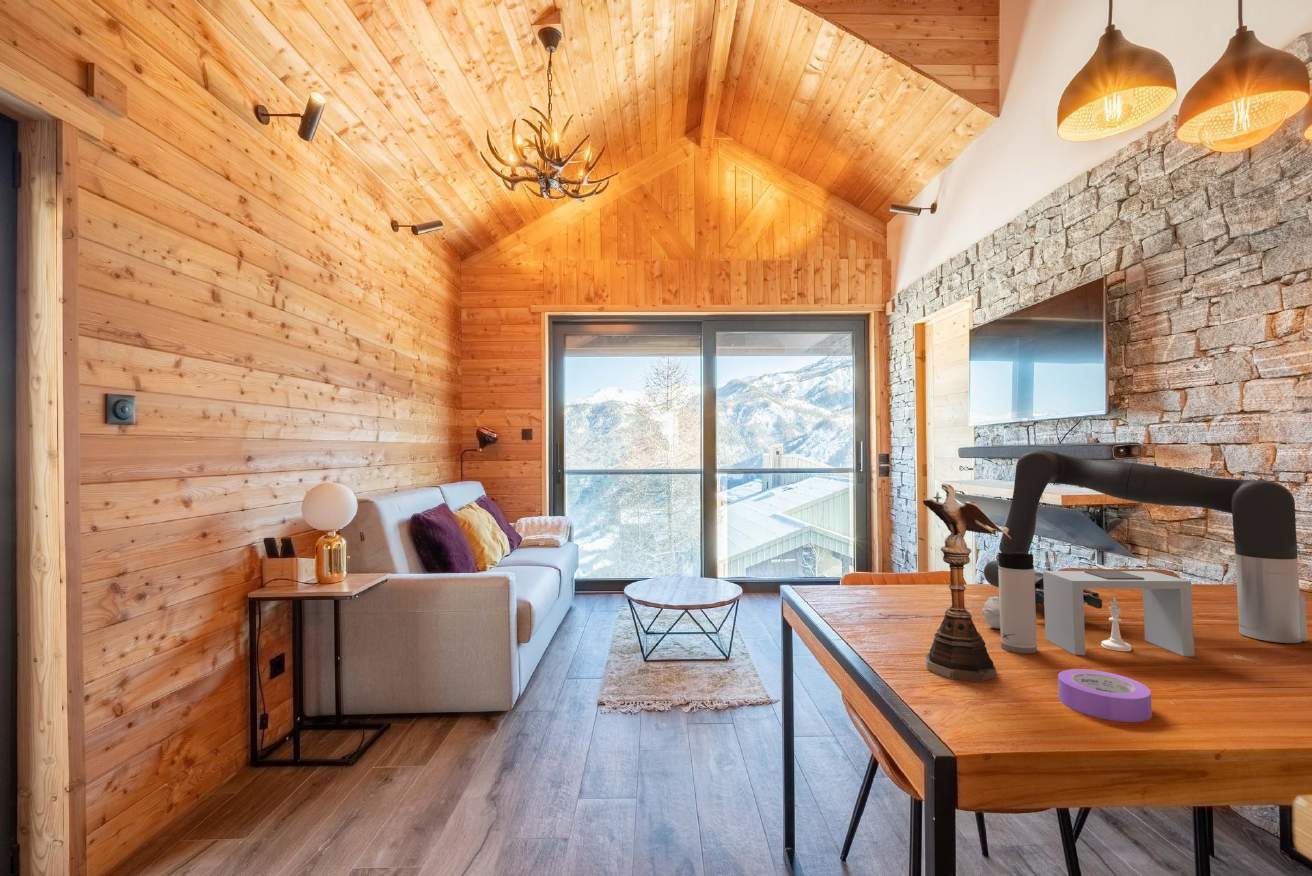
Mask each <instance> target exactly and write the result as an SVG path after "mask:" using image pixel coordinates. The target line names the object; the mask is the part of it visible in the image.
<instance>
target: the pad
mask: <svg viewBox="0 0 1312 876" xmlns="http://www.w3.org/2000/svg"><path fill="white" fill-rule="evenodd" d="M1083 571H1084V573H1088V574H1091V575H1094V576H1097V577H1101V578H1104V579H1139V580H1144V578H1142V577H1139V576H1135V575H1132V574H1128V573H1124V572H1121V570H1083Z"/></svg>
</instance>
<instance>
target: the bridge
mask: <svg viewBox="0 0 1312 876" xmlns="http://www.w3.org/2000/svg"><path fill="white" fill-rule="evenodd" d="M1084 571H1085V570H1043V571H1042V573H1043V584H1044V606H1043V607H1044V610H1043V611H1044V632H1045V633H1044V634H1045V635H1044V636H1045V640H1046V641H1049V642H1050V643H1051V644H1052V643H1053V644H1054V645H1055V646H1057V647H1060V648H1061V649H1063V650H1065V651H1067V652H1068V653H1071V654H1072V655H1075V656H1086V632H1085V629H1086V628H1085V606H1084V605H1085V604H1084V600H1083V589H1086V590H1089V589H1094V590H1095V589H1097V590H1098V589H1100V590H1101V589H1103V590H1105V589H1107V590H1108V589H1112V590H1116V589H1118V590H1119V589H1120V590H1123V589H1124V590H1126V589H1127V590H1130V589H1131V590H1133V589H1134V590H1135V589H1136V590H1137V589H1138V590H1142V599H1143V600H1142V601H1143V621H1144V623H1143V626H1144V641H1146V642H1148V643H1151V644H1153V645H1156V646H1158V647H1160V648H1163V649H1165V650H1167V651H1170V652H1172V653H1175V654H1177V655H1179V656H1182V657H1195V639H1194V637H1195V636H1194V618H1193V617H1194V615H1193V613H1194V612H1193V597H1192V596H1193V595H1192V594H1193V593H1192V590H1193V589H1192V581H1190V580H1187V579H1184V578H1180V577H1176V576H1173V575H1172V576H1171V575H1168V574H1165V573H1160V572H1156V571H1153V570H1152V571H1150V570H1148V571H1147V570H1133V571H1130V570H1129V571H1127V570H1126V571H1125V570H1124V571H1123V570H1122V571H1121V570H1120V571H1121V572H1124V573H1128V574H1132V575H1135V576H1139V577H1142V578H1144V580H1139V579H1104V578H1101V577H1097V576H1094V575H1091V574H1088V573H1084Z"/></svg>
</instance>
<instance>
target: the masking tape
mask: <svg viewBox="0 0 1312 876" xmlns="http://www.w3.org/2000/svg"><path fill="white" fill-rule="evenodd" d="M1057 679H1058V681H1057V683H1058V684H1057V685H1058V700H1059V701H1060V703H1062V704H1063V705H1064V706H1066V707H1068V708H1070V709H1072V710H1074V711H1075V712H1079V713H1080V714H1081V713H1082V714H1085V715H1088V716H1091V717H1095V718H1097V719H1103V720H1108V721H1115V722H1124V723H1141V722H1146V721H1148V720H1150V719H1152V717H1153V709H1152V707H1153V706H1152V691H1151V689H1150V687H1147V685H1145V684H1143V683H1142V682H1140V681H1137V680H1135V679H1132V678H1130V677H1126V676H1125V675H1124V676H1123V675H1120V674H1116V673H1111V672H1106V671H1101V670H1095V669H1084V668H1082V669H1081V668H1080V669H1079V668H1074V669H1066V670H1062V671H1061V672H1059V673H1058V675H1057Z"/></svg>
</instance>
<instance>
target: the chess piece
mask: <svg viewBox="0 0 1312 876" xmlns="http://www.w3.org/2000/svg"><path fill="white" fill-rule="evenodd" d="M1108 602H1109V604H1111V606H1108V610H1109V612H1110V615H1111V617H1108V621H1110V622H1111V633H1110V637H1108V639H1105V640H1102V641H1101V647H1102V648H1105V649H1108V650H1112V651H1117V652H1131V651H1133V650H1132V646H1131V644H1130V643H1127V642H1125V641H1124V639H1122V636H1121V635H1122V634H1121V632H1120V626H1119V625H1120V624H1119V623H1120V622H1123V621H1122V619H1121V618H1119V616H1120V613H1121V611H1122V609H1121V607H1119V606H1117V605H1119V604H1120V603H1121V602H1120V600H1117V598H1116V597H1112V600H1109V601H1108Z"/></svg>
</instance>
